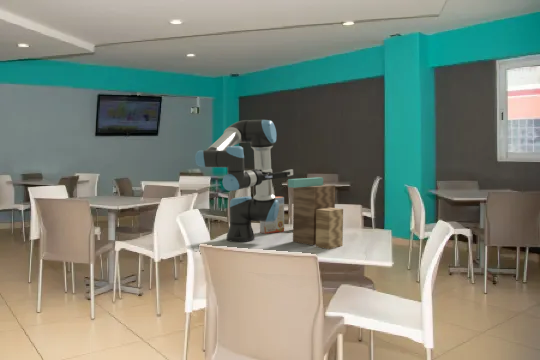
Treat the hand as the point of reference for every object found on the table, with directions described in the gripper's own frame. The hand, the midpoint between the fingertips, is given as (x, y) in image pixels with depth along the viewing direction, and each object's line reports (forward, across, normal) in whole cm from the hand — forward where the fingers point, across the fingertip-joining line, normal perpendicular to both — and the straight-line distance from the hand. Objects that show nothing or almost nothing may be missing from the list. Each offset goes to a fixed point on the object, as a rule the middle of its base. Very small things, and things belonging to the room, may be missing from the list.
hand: (282, 171), depth 238 cm
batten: (+18, 0, -10) cm, 21 cm away
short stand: (+17, +13, -40) cm, 46 cm away
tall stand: (+22, -1, -41) cm, 46 cm away
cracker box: (+27, -36, -41) cm, 60 cm away
